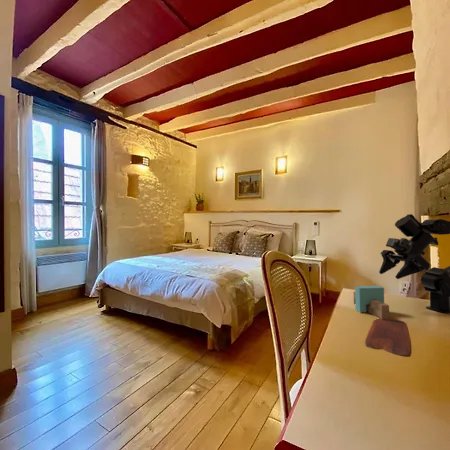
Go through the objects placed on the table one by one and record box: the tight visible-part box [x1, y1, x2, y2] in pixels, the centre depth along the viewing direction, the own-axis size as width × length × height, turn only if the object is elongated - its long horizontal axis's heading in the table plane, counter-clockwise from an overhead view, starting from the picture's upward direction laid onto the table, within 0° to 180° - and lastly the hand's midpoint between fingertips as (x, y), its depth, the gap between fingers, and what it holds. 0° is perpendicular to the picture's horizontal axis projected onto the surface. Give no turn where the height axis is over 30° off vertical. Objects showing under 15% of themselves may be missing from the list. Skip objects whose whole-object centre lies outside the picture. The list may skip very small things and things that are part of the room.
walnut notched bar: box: [353, 291, 390, 320], centre depth 93 cm, size 18×2×5 cm, turn 1°
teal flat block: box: [354, 285, 385, 313], centre depth 93 cm, size 9×3×9 cm, turn 91°
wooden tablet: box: [364, 318, 412, 357], centre depth 74 cm, size 27×10×2 cm, turn 144°
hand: (387, 275), depth 93 cm, fingers open, 9 cm apart
